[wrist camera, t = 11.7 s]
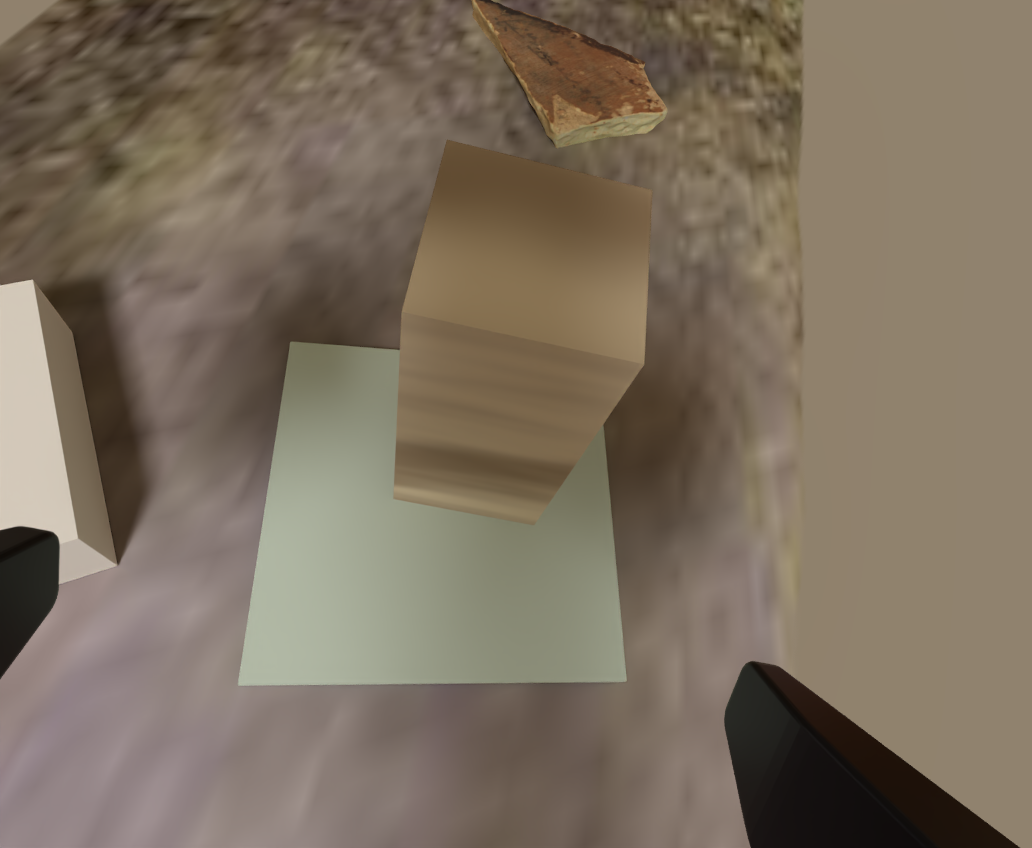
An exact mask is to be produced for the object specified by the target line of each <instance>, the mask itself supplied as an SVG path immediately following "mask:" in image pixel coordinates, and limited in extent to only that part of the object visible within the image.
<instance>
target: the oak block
mask: <svg viewBox="0 0 1032 848" xmlns="http://www.w3.org/2000/svg"><path fill="white" fill-rule="evenodd" d="M651 210H652V190H650V189H646V188H641V187H637V186H633V185H629V184H625V183H621V182H617V181H613V180H609V179H605V178H601V177H597V176H593V175H588V174H584V173H580V172H576V171H572V170H568V169H564V168H560V167H556V166H552V165H548V164H544V163H540V162H536V161H531V160H527V159H523V158H519V157H515V156H511V155H507V154H503V153H499V152H495V151H491V150H487V149H483V148H478V147H474V146H470V145H466V144H462V143H458V142H454V141H450V140H447V142H446V145H445V149H444V153H443V157H442V161H441V164H440V168H439V172H438V176H437V180H436V183H435V187H434V191H433V195H432V199H431V202H430V206H429V210H428V214H427V218H426V221H425V225H424V229H423V233H422V236H421V240H420V244H419V248H418V252H417V255H416V259H415V263H414V267H413V271H412V274H411V278H410V282H409V286H408V290H407V293H406V297H405V301H404V305H403V309H402V315H401V338H400V360H399V383H398V405H397V427H396V450H395V472H394V495H393V499H396V500H401V501H407V502H412V503H417V504H423V505H428V506H433V507H439V508H444V509H449V510H455V511H460V512H465V513H471V514H476V515H481V516H487V517H492V518H497V519H503V520H508V521H514V522H519V523H524V524H530V525H535V523H536V522H537V520H538V519H539V517H540V516H541V514H542V513H543V512H544V510H545V509H546V507H547V506H548V504H549V503H550V501H551V500H552V498H553V497H554V495H555V494H556V493H557V491H558V490H559V488H560V487H561V485H562V484H563V482H564V481H565V479H566V478H567V476H568V475H569V474H570V472H571V471H572V469H573V468H574V466H575V465H576V463H577V462H578V460H579V459H580V458H581V456H582V455H583V453H584V452H585V450H586V449H587V447H588V446H589V444H590V443H591V441H592V440H593V439H594V437H595V436H596V434H597V433H598V431H599V430H600V428H601V427H602V425H603V424H604V422H605V421H606V420H607V418H608V417H609V415H610V414H611V412H612V411H613V409H614V408H615V406H616V405H617V403H618V402H619V401H620V399H621V398H622V396H623V395H624V393H625V392H626V390H627V389H628V387H629V386H630V384H631V383H632V382H633V380H634V379H635V377H636V376H637V374H638V373H639V371H640V370H641V368H642V367H643V365H644V360H645V338H646V317H647V295H648V274H649V253H650V231H651Z"/></svg>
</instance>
